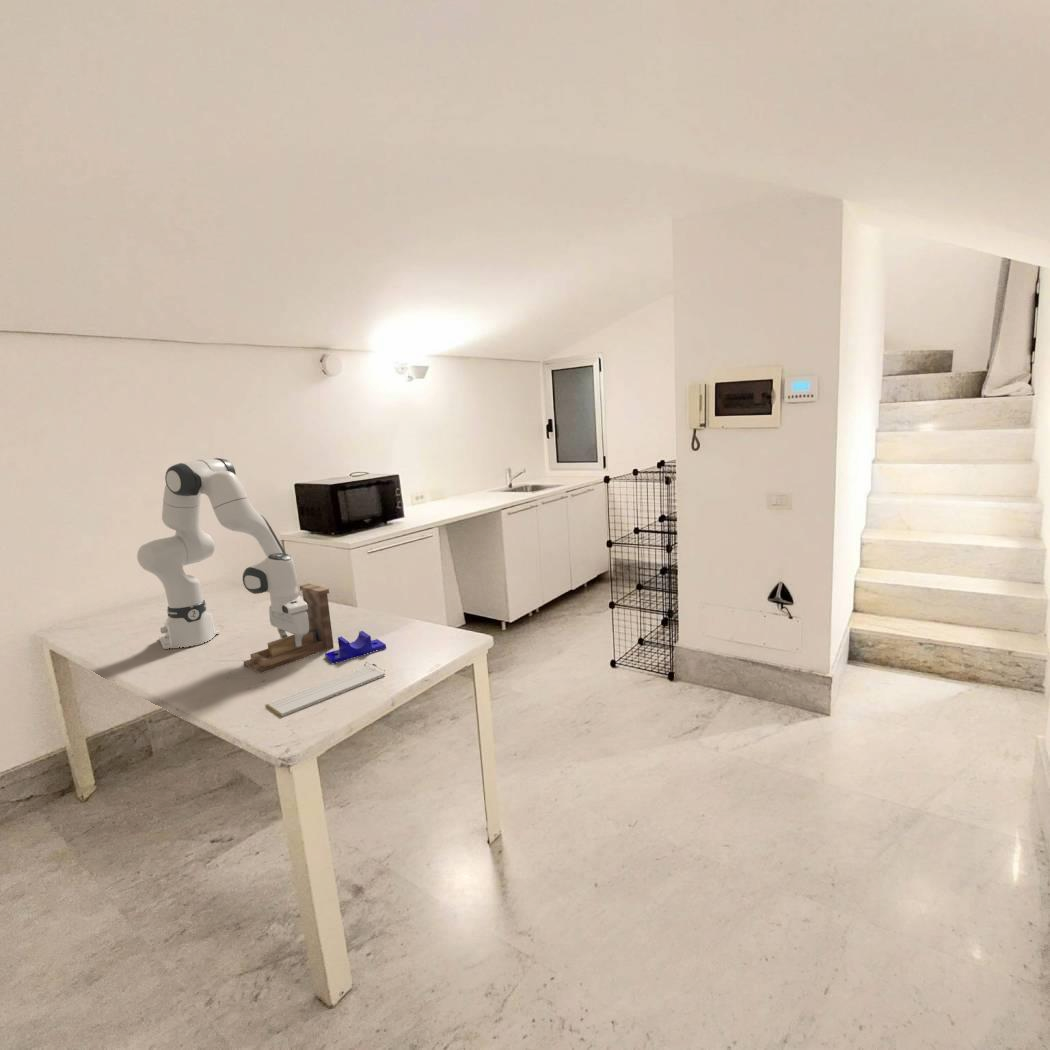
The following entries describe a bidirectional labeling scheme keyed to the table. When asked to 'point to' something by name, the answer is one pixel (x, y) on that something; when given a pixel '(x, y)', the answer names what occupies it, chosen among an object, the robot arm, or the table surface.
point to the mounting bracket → (354, 648)
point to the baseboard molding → (324, 690)
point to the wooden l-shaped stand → (317, 623)
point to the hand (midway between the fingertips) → (291, 643)
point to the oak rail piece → (289, 643)
